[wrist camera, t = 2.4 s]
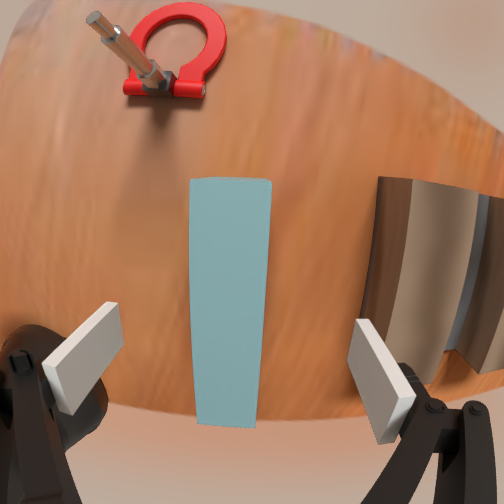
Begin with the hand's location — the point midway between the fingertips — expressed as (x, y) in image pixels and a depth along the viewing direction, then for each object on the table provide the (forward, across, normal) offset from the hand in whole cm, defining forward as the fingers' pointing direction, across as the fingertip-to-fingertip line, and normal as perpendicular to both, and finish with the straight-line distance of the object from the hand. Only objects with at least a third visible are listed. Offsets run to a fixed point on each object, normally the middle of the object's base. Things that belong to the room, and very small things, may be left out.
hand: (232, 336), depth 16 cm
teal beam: (+10, -1, 0) cm, 10 cm away
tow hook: (+10, -7, +19) cm, 22 cm away
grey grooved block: (+10, +19, +1) cm, 22 cm away
